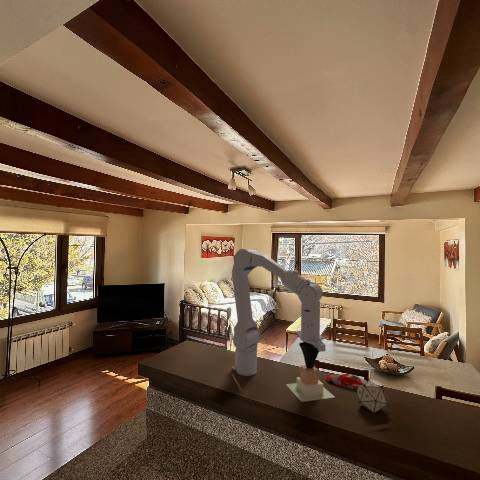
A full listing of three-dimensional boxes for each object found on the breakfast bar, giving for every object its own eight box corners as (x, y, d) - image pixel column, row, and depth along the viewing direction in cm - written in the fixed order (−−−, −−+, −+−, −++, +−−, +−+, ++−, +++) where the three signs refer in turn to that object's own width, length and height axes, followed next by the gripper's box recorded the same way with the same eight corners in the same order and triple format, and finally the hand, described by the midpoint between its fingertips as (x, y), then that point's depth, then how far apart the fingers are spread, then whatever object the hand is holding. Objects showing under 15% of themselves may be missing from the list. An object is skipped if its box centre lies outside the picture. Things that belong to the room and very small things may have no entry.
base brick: (296, 387, 95) (296, 377, 95) (313, 385, 96) (313, 375, 96) (305, 396, 89) (305, 386, 89) (323, 394, 91) (323, 384, 91)
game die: (368, 427, 82) (351, 402, 80) (360, 401, 90) (345, 377, 88) (400, 417, 79) (383, 390, 77) (389, 391, 87) (374, 366, 85)
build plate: (285, 386, 97) (285, 384, 97) (316, 383, 99) (316, 380, 99) (301, 404, 86) (301, 401, 86) (335, 399, 89) (335, 397, 89)
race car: (323, 385, 99) (323, 373, 99) (328, 379, 103) (328, 367, 103) (366, 396, 92) (366, 383, 92) (369, 389, 96) (369, 377, 96)
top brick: (300, 378, 94) (300, 365, 94) (311, 377, 95) (311, 364, 95) (306, 384, 90) (306, 371, 90) (318, 383, 91) (318, 369, 91)
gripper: (335, 328, 87) (334, 375, 87) (310, 316, 101) (310, 357, 101) (313, 330, 85) (312, 378, 85) (291, 317, 99) (290, 359, 99)
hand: (309, 367), depth 93 cm, fingers closed
